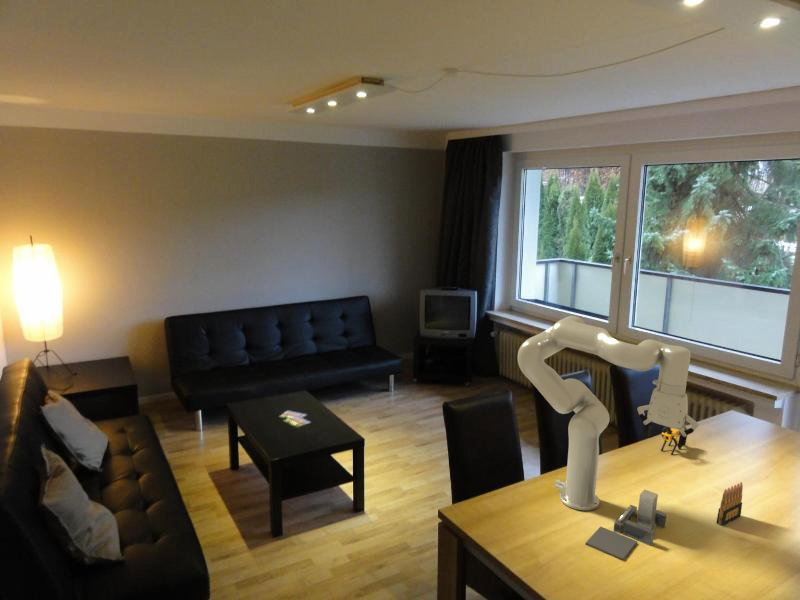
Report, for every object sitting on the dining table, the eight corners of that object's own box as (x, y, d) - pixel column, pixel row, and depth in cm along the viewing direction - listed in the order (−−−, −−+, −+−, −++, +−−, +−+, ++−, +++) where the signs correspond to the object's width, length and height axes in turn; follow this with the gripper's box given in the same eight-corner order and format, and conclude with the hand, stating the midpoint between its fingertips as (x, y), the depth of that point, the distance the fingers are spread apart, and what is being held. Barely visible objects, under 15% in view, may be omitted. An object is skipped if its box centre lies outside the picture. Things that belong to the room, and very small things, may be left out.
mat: (585, 544, 168) (585, 542, 168) (600, 528, 177) (600, 526, 176) (623, 560, 161) (623, 558, 161) (636, 543, 170) (637, 541, 169)
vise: (613, 530, 175) (614, 518, 175) (629, 511, 186) (631, 500, 185) (650, 545, 168) (652, 533, 168) (665, 525, 179) (667, 513, 178)
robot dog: (652, 455, 225) (655, 423, 223) (671, 442, 237) (675, 411, 235) (666, 460, 221) (670, 428, 219) (685, 447, 233) (689, 416, 230)
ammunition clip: (734, 513, 186) (739, 479, 184) (740, 516, 184) (745, 482, 182) (716, 523, 180) (721, 488, 178) (722, 526, 179) (727, 491, 177)
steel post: (634, 532, 175) (638, 496, 172) (642, 522, 180) (646, 487, 178) (647, 537, 172) (652, 501, 170) (655, 527, 178) (659, 492, 175)
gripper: (637, 383, 172) (630, 436, 175) (699, 399, 160) (690, 455, 164) (646, 377, 177) (639, 428, 181) (707, 392, 166) (698, 447, 170)
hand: (663, 441), depth 172 cm, fingers open, 9 cm apart
